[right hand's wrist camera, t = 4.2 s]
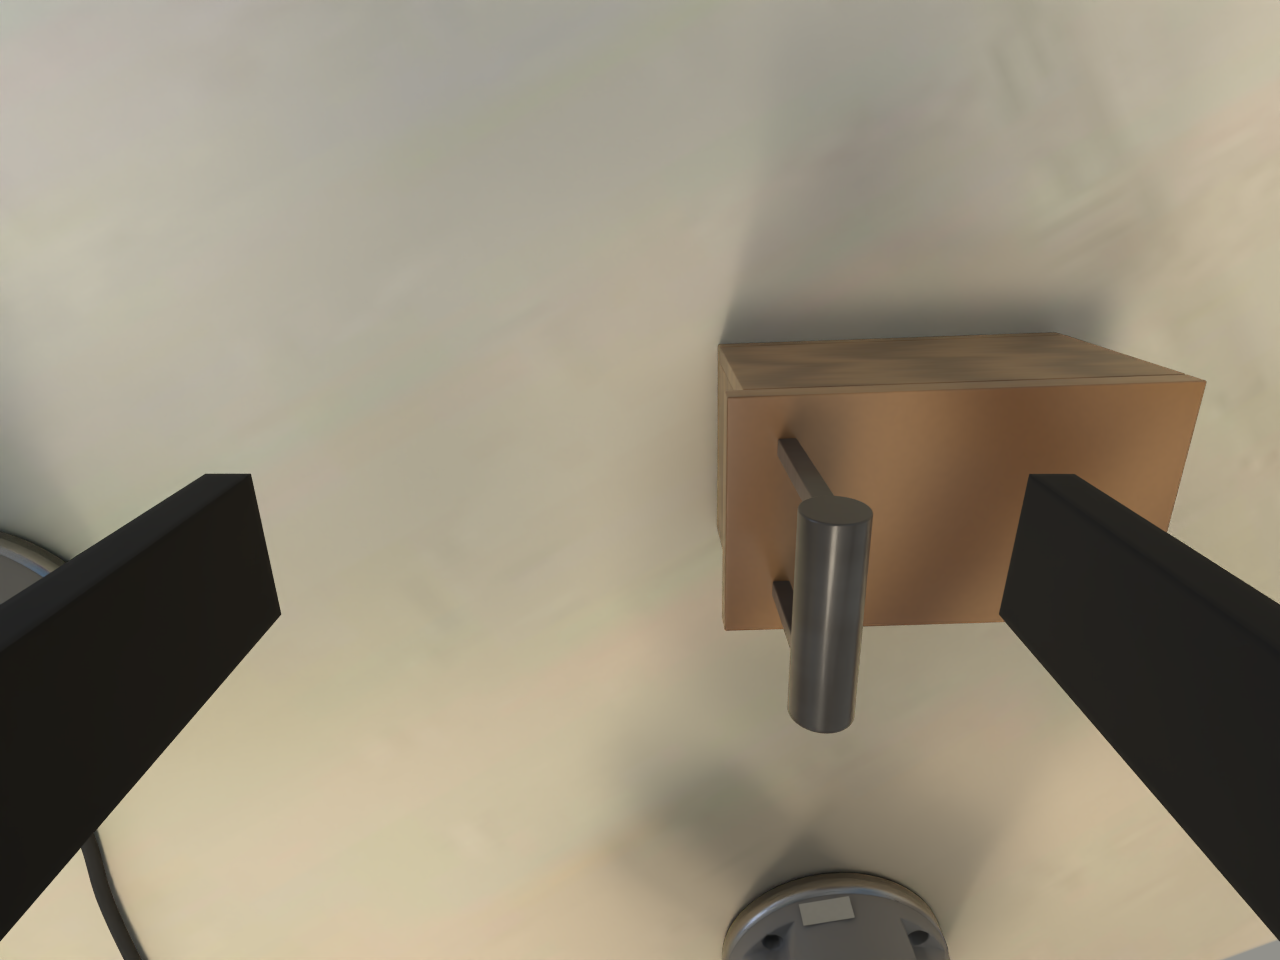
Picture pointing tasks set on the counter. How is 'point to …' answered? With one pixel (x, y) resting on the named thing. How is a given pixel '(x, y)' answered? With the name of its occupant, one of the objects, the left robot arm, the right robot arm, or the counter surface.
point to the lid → (916, 502)
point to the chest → (912, 366)
